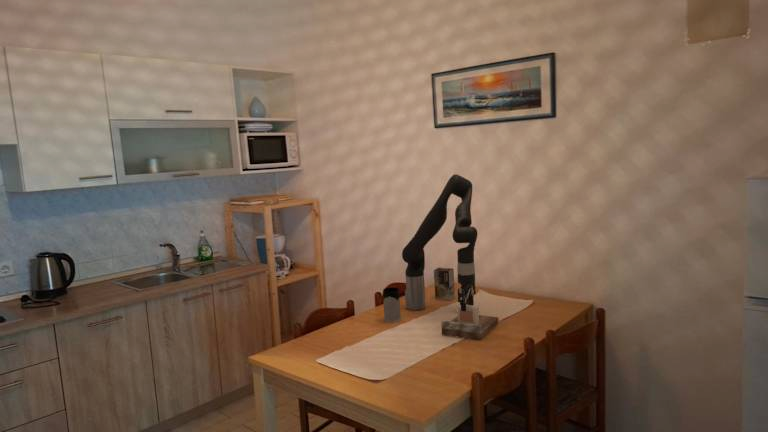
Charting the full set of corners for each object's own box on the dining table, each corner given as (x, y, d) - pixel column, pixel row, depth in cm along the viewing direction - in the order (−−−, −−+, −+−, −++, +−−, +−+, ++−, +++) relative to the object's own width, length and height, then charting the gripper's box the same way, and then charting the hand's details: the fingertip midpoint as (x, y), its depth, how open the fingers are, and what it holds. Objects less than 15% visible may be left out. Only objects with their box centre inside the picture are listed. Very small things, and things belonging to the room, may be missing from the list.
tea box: (462, 321, 235) (461, 303, 234) (479, 323, 230) (478, 305, 229) (458, 324, 230) (457, 307, 229) (475, 326, 226) (474, 309, 225)
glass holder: (381, 322, 248) (379, 292, 246) (388, 313, 262) (386, 284, 260) (399, 323, 246) (397, 292, 244) (405, 313, 260) (403, 284, 258)
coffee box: (455, 297, 281) (454, 268, 279) (450, 300, 276) (448, 271, 274) (440, 295, 286) (438, 267, 284) (434, 299, 281) (433, 269, 279)
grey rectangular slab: (441, 334, 228) (441, 321, 227) (461, 319, 247) (460, 306, 246) (481, 340, 218) (480, 326, 218) (498, 323, 237) (498, 310, 236)
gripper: (464, 267, 235) (465, 302, 237) (451, 275, 223) (452, 312, 225) (480, 269, 231) (481, 304, 233) (468, 276, 219) (469, 314, 221)
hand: (467, 308), depth 229 cm, fingers open, 8 cm apart
